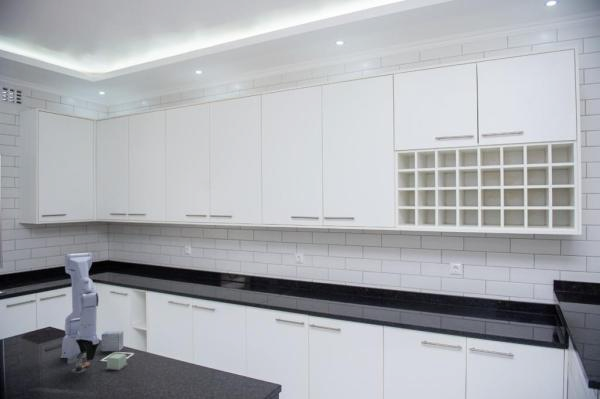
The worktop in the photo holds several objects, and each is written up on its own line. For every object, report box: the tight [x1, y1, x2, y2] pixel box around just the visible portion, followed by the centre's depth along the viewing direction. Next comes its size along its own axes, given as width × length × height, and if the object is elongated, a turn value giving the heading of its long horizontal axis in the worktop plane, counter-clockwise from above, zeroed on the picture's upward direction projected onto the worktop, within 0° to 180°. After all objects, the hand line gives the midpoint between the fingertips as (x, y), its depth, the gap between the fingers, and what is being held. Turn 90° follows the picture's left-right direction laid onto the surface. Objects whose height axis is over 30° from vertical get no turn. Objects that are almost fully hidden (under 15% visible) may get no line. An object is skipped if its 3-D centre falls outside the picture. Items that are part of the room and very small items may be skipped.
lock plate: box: [71, 363, 128, 374], centre depth 151 cm, size 22×12×1 cm, turn 81°
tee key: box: [66, 350, 91, 371], centre depth 150 cm, size 9×2×6 cm, turn 165°
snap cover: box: [106, 353, 127, 370], centre depth 154 cm, size 5×5×4 cm
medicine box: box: [101, 330, 124, 352], centre depth 171 cm, size 8×4×9 cm, turn 92°
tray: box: [99, 351, 136, 363], centre depth 162 cm, size 10×10×2 cm
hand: (87, 358), depth 152 cm, fingers open, 4 cm apart
